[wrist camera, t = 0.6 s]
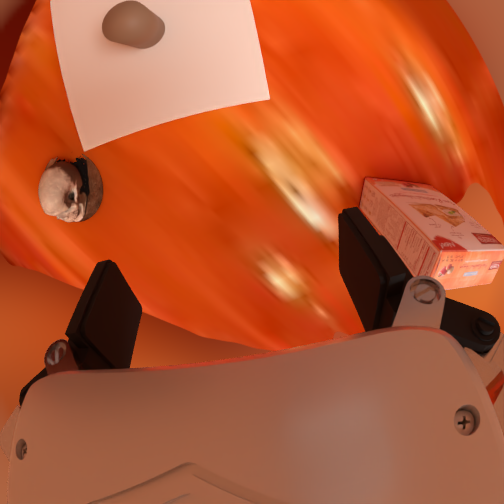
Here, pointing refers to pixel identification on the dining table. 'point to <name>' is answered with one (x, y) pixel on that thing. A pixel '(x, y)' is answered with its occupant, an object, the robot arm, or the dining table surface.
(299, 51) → the dining table surface
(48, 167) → the skull
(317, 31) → the dining table surface
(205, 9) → the cover
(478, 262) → the cracker box
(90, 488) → the robot arm
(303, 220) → the dining table surface
